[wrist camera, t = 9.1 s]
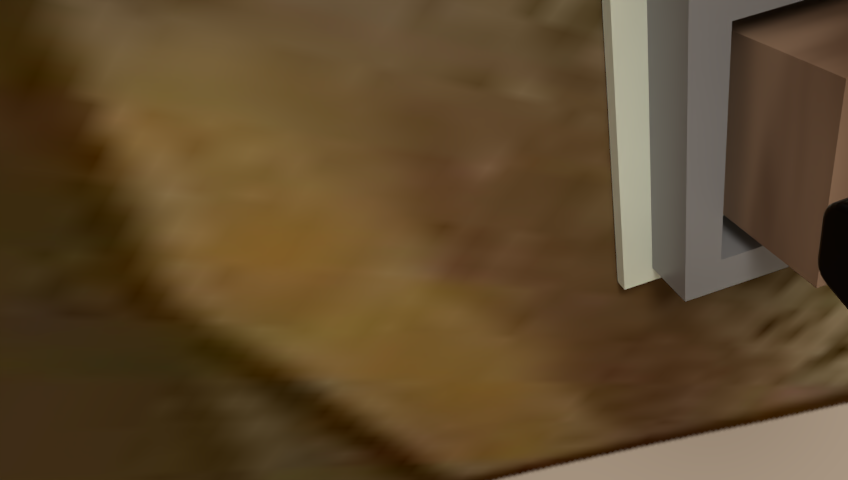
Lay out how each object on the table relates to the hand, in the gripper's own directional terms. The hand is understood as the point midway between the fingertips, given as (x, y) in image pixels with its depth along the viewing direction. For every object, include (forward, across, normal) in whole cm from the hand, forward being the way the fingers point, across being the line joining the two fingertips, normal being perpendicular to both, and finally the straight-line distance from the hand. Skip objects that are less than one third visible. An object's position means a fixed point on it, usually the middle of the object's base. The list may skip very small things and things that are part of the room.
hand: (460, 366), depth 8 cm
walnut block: (+12, -13, +5) cm, 18 cm away
